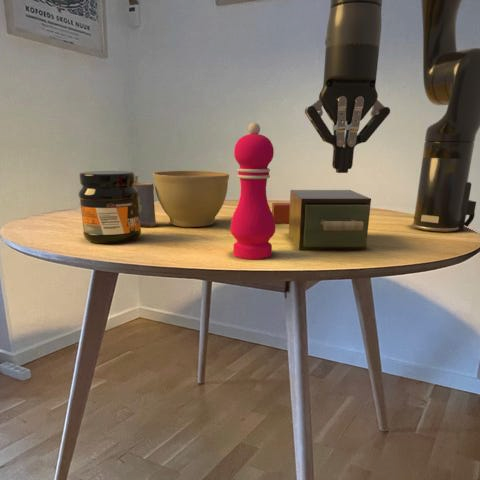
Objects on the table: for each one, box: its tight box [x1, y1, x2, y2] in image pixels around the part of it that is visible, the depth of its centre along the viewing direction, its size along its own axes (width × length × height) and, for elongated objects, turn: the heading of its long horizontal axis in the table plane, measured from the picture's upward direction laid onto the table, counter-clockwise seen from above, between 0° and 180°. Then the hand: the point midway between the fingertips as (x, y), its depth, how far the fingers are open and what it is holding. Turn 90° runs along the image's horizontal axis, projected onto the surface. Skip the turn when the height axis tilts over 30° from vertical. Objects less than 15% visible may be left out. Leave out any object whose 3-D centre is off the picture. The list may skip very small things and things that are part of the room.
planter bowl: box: [152, 170, 230, 228], centre depth 101 cm, size 16×16×11 cm
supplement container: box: [78, 170, 142, 245], centre depth 86 cm, size 10×10×12 cm
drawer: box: [303, 203, 371, 248], centre depth 81 cm, size 17×10×7 cm, turn 2°
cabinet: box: [288, 189, 372, 251], centre depth 85 cm, size 14×12×9 cm
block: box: [271, 202, 290, 224], centre depth 106 cm, size 4×4×4 cm
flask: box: [134, 173, 157, 228], centre depth 100 cm, size 9×3×11 cm, turn 61°
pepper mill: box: [229, 122, 276, 260], centre depth 73 cm, size 7×7×20 cm
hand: (341, 172), depth 73 cm, fingers closed
